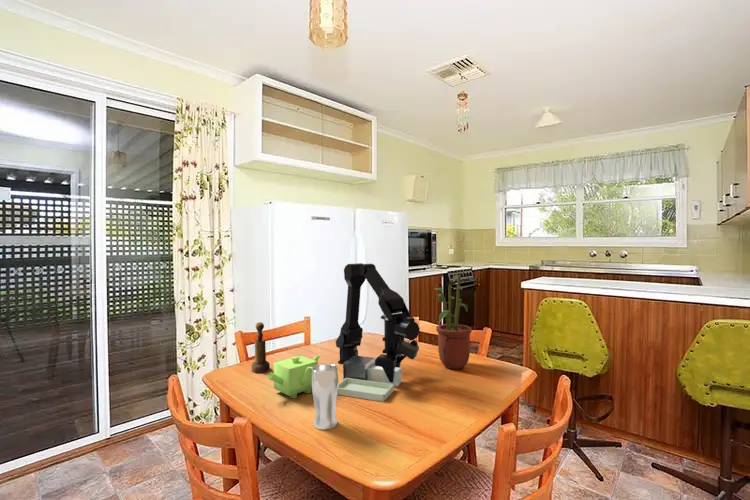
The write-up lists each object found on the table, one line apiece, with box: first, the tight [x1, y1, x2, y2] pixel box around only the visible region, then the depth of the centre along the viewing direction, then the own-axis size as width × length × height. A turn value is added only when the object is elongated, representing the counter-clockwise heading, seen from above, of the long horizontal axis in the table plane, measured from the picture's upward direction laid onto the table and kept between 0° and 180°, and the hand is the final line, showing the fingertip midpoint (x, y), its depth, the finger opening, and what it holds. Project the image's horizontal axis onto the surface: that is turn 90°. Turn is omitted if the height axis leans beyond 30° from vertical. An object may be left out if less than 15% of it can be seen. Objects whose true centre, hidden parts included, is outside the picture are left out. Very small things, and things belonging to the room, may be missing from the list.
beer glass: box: [311, 363, 339, 431], centre depth 100 cm, size 7×7×15 cm
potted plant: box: [434, 274, 473, 370], centre depth 145 cm, size 17×16×35 cm
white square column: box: [367, 364, 402, 388], centre depth 129 cm, size 14×4×5 cm, turn 68°
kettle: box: [267, 353, 323, 399], centre depth 122 cm, size 15×14×11 cm
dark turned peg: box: [251, 321, 271, 374], centre depth 143 cm, size 7×6×18 cm
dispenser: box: [342, 355, 377, 381], centre depth 132 cm, size 9×9×7 cm
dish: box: [337, 378, 395, 403], centre depth 121 cm, size 17×9×2 cm, turn 68°
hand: (393, 380), depth 128 cm, fingers closed on white square column, 4 cm apart
